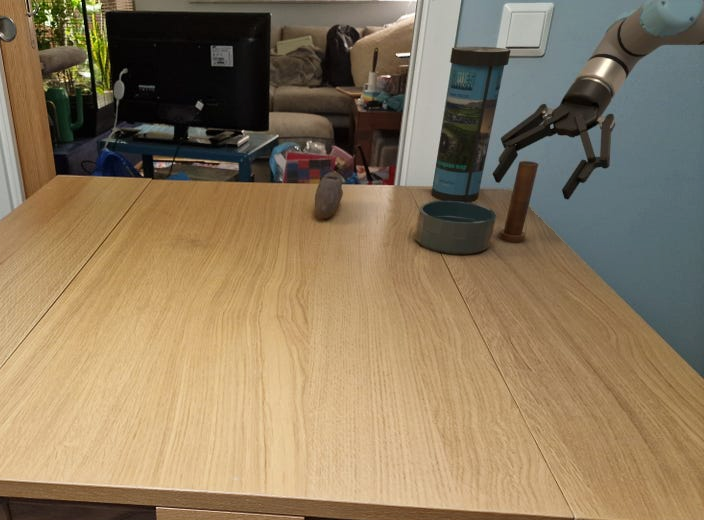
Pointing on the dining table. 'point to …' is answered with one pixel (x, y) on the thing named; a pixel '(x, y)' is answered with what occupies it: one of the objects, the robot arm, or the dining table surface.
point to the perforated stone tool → (328, 194)
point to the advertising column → (468, 121)
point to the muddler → (519, 202)
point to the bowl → (455, 227)
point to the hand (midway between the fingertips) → (529, 186)
